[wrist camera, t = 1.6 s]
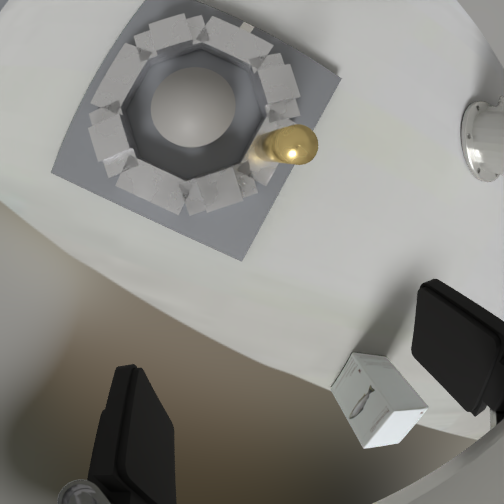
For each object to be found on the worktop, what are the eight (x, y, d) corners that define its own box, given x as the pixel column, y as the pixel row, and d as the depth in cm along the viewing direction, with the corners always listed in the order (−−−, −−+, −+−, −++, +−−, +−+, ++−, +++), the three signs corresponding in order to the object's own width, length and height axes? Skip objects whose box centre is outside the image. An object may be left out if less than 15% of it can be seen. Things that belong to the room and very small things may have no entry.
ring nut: (161, 4, 21) (149, -51, 11) (318, 81, 26) (372, 55, 17) (72, 161, 24) (17, 167, 15) (233, 236, 30) (251, 277, 20)
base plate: (157, -7, 22) (152, -29, 17) (335, 81, 28) (357, 71, 23) (56, 171, 26) (34, 175, 21) (239, 256, 32) (247, 274, 28)
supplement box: (351, 350, 40) (395, 409, 28) (386, 355, 42) (431, 407, 30) (328, 388, 41) (362, 449, 30) (363, 391, 43) (399, 444, 31)
